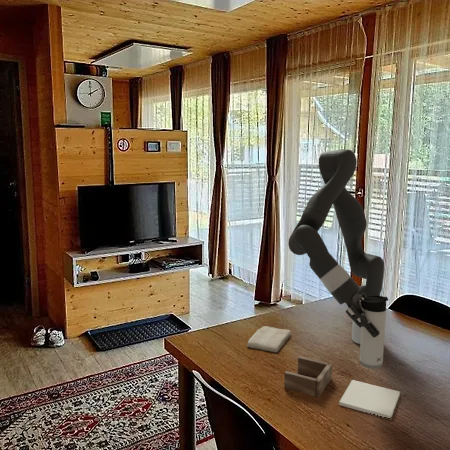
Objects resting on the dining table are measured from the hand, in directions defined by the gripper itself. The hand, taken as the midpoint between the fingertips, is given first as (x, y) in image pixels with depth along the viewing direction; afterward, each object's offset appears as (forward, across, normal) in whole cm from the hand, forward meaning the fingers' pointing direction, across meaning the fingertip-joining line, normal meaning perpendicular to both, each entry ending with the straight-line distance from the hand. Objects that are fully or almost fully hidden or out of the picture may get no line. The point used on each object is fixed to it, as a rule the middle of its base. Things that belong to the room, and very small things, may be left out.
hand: (379, 331), depth 127 cm
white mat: (+14, 0, +16) cm, 21 cm away
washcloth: (-15, +23, +46) cm, 54 cm away
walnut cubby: (+1, 0, +30) cm, 30 cm away
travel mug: (+6, 0, +9) cm, 11 cm away
